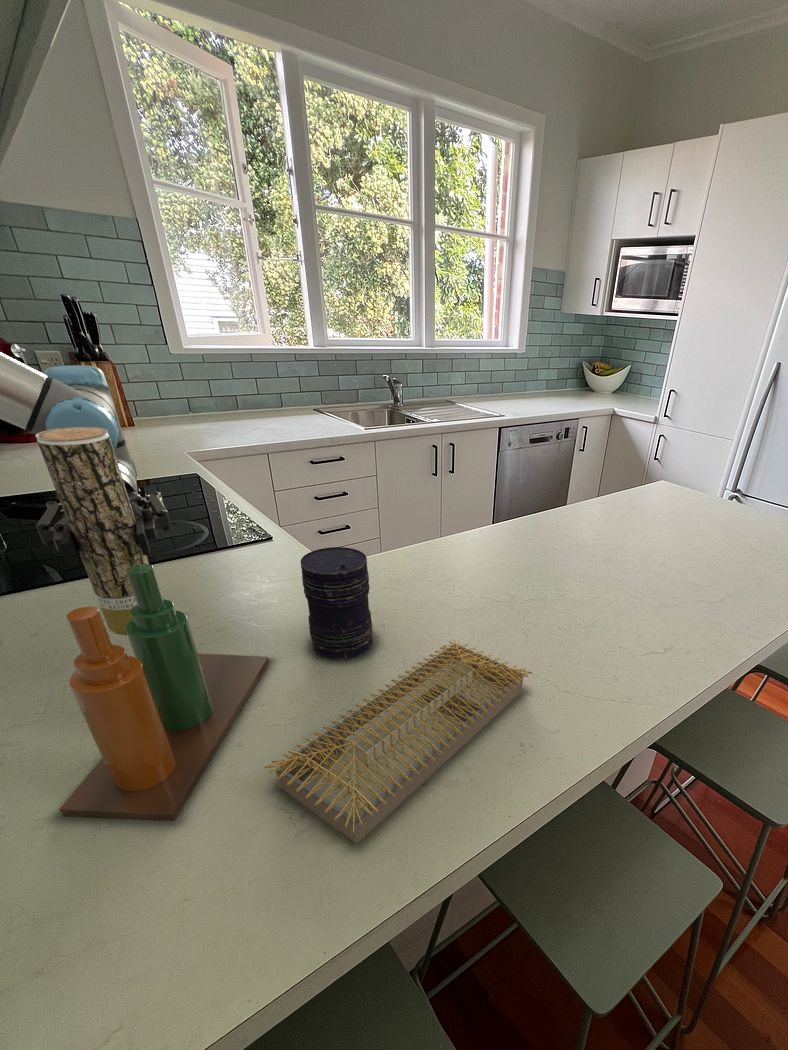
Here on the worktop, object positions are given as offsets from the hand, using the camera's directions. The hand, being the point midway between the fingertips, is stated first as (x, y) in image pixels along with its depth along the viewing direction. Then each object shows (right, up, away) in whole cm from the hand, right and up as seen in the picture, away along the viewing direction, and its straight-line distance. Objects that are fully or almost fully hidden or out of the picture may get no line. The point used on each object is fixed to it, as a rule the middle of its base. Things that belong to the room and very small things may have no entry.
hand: (107, 549), depth 63 cm
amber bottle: (+5, -27, 0) cm, 27 cm away
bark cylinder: (-3, -9, +11) cm, 14 cm away
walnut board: (+5, -22, +7) cm, 24 cm away
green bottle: (+5, -21, +8) cm, 23 cm away
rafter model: (+35, -23, +8) cm, 43 cm away
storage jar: (+21, -11, +25) cm, 35 cm away
